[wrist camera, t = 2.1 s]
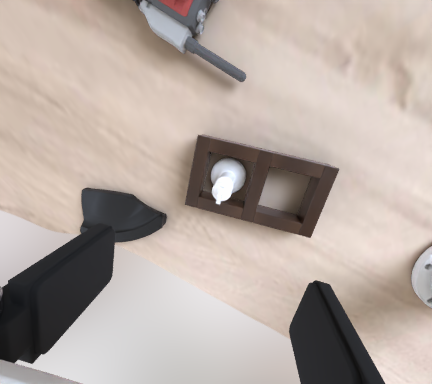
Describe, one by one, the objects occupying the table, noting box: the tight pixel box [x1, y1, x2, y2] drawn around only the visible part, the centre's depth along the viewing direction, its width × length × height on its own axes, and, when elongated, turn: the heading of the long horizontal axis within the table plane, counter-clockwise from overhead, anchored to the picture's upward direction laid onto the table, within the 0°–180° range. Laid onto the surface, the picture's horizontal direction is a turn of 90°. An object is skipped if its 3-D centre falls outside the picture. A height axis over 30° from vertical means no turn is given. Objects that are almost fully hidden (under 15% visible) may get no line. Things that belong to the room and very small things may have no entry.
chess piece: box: [211, 158, 246, 204], centre depth 24 cm, size 5×5×10 cm
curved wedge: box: [80, 188, 167, 242], centre depth 32 cm, size 8×14×2 cm, turn 82°
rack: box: [185, 135, 339, 238], centre depth 27 cm, size 17×9×3 cm, turn 77°
